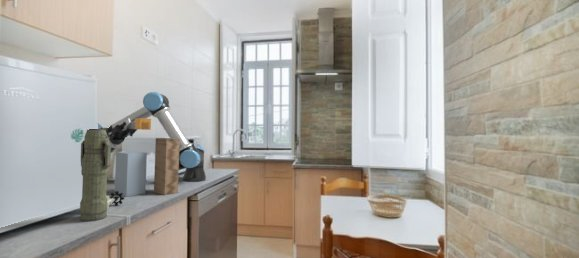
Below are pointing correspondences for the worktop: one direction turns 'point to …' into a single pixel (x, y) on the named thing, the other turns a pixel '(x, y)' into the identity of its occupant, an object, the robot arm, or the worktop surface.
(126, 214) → the worktop surface
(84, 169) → the thermos
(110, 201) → the valve
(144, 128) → the lockout bar
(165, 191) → the wooden upright block
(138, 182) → the grey upright pillar
